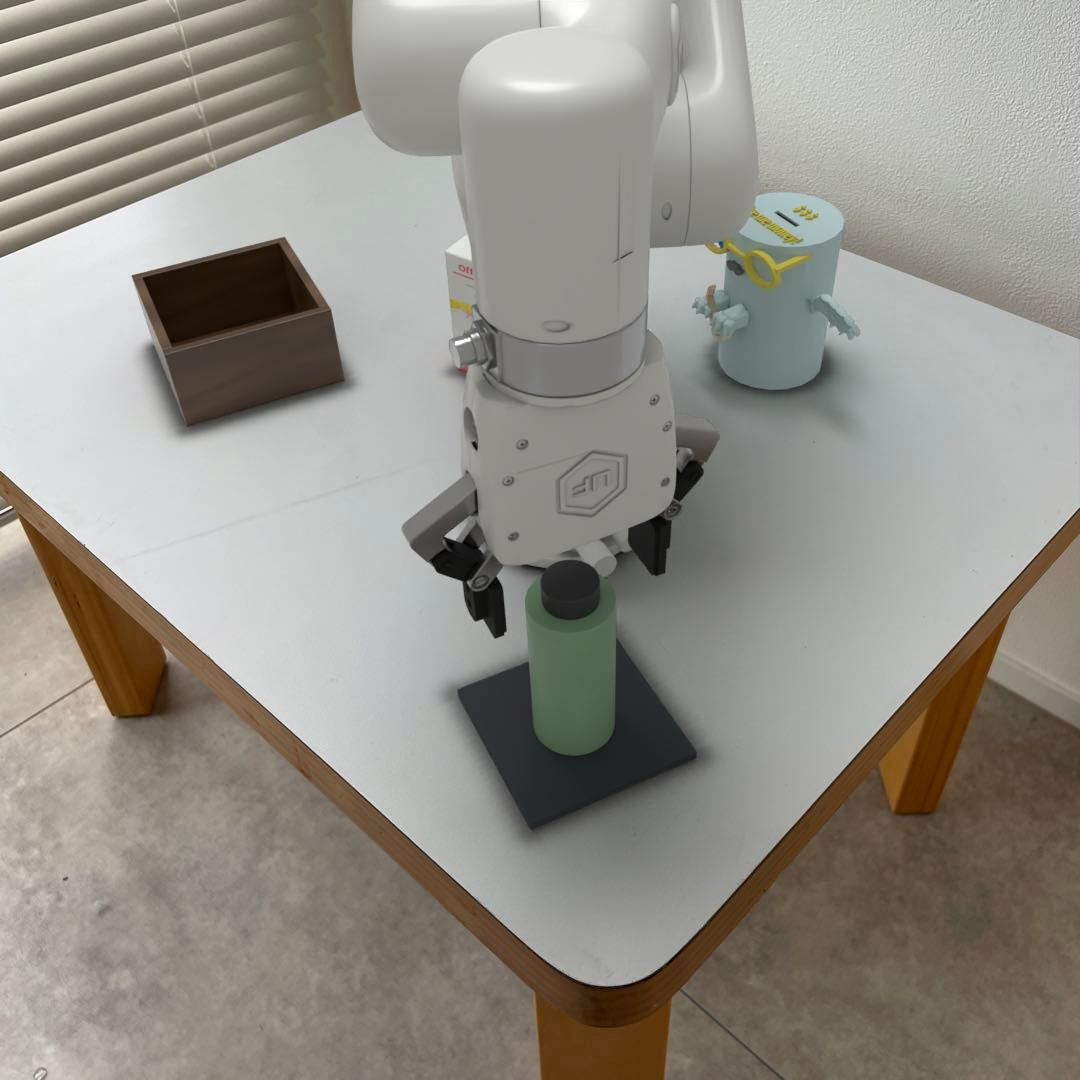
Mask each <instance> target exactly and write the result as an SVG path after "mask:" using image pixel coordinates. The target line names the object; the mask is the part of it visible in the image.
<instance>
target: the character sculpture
mask: <svg viewBox="0 0 1080 1080" xmlns="http://www.w3.org/2000/svg"><path fill="white" fill-rule="evenodd" d="M844 226H845V218H844V216H843V214H842V212H841V211H840V210H839V209H838V208H837V207H835V206H834V205H833V204H832V203H830V202H828V201H826V200H824V199H821V198H819V197H816V196H813V195H809V194H805V193H799V192H798V193H797V192H787V191H781V192H779V191H778V192H765V193H762V194H757V195H756V200H755V204H754V207H753V210H752V213H751V216H750V217H749V219H748V221H747V223H746V224H745V225H744V227H743V228H742V229H741V230H740V231H739V232H738V233H736V234H735V235H733V236H732V237H730V238H728V239H726V240H723V241H720V242H717V244H718V245H716V243H712V244H705V245H704V246H705V247H706V248H707V249H708V250H709V251H710V252H711V253H713V254H716V255H723V254H726V256H725V258H726V259H725V270H724V279H723V280H724V282H723V289H716V288H717V285H716V284H711V285H709V286H708V287H707V290H706V293H705V295H704V296H696V297H695V298H694V302H693V304H691V309H696V311H695V314H696V315H700V314H701V315H703V316H704V319H708V318H709V326H710V327H711V329H710V330H711V336H712V337H713V339H714V340H715V341H716V342H718V351H717V360H718V363H719V367H720V369H721V370H723V373H725V375H727V376H728V377H729V378H731V379H733V380H734V381H735V382H737V383H738V384H739V383H740V384H741V385H745V386H748V387H750V388H754V389H761V390H766V391H767V390H768V391H777V390H789V389H793V388H797V387H801V386H804V385H805V384H808V383H809V382H810V381H812V380H814V379H815V378H816V376H817V375H818V374H819V373H820V372H821V368H822V363H823V362H822V361H823V357H824V349H825V344H826V338H827V330H828V327H829V328H830V329H831V328H833V327H835V328H836V329H837V331H838V336H842V335H843V334H846V336H847V340H849V341H853V340H854V338H855V337H857V338H858V337H860V335H861V329H860V327H859V325H858V324H856V322H855V319H854V318H853V317H852V315H851V314H848V311H847V310H846V308H844V307H843V306H841V304H840V303H839V302H838V301H837V300H836V299H833V294H834V287H835V281H836V276H837V275H836V274H837V270H838V262H839V256H840V250H841V244H842V238H843V232H844ZM828 325H829V326H828Z"/></svg>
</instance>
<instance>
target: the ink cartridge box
mask: <svg viewBox="0 0 1080 1080" xmlns="http://www.w3.org/2000/svg"><path fill="white" fill-rule="evenodd" d="M444 255H445V265H446V267H445V268H446V276H447V287H448V297H449V307H450V318H451V330H452V337H453V338H455V337H459V336H462V335H463V334H464V331H468V330H470V328H471V324H472V322H473V318H472V308H471V305H474V304H476V301H475V290H474V279H473V268H472V257H471V247H470V242H469V238H468V234H467V233H466V234H465V235H463V236H462V237H461V238H460V239H459V240H457V241H455V243H453V244H452V245H450V246H449V247H448V248H447V249H445V251H444ZM455 368H456V369H457V370H460V371H463V372H466V373H467V371H468V366H466V367H463V368H459V369H458V368H457V367H456V366H455Z"/></svg>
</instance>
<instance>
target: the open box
mask: <svg viewBox="0 0 1080 1080" xmlns="http://www.w3.org/2000/svg"><path fill="white" fill-rule="evenodd" d="M131 279H132V282H133V285H134V288H135V291H136V294H137V297H138V301H139V303H140V307H141V310H142V313H143V316H144V319H145V322H146V325H147V328H148V332H149V335H150V338H151V342H152V344H153V346H154V349H155V351H156V354H157V356H158V359H159V362H160V364H161V366H162V369H163V372H164V374H165V377H166V379H167V381H168V384H169V386H170V388H171V392H172V394H173V397H174V398H175V401H176V403H177V406H178V408H179V411H180V413H181V415H182V418H183V421H184V423H185V426H186V427H187V428H188V427H191V426H192V427H193V426H195V425H198V424H199V425H200V424H202V423H206V422H208V421H209V422H210V421H212V420H216V419H219V418H222V417H225V416H230V415H232V414H236V413H239V412H243V411H247V410H250V409H252V408H256V407H259V406H263V405H266V404H270V403H273V402H277V401H280V400H283V399H287V398H291V397H293V396H297V395H300V394H303V393H304V394H305V393H307V392H310V391H315V390H317V389H320V388H321V389H322V388H324V387H328V386H332V385H334V384H338V383H342V382H345V380H346V379H345V374H344V369H343V364H342V359H341V353H340V349H339V348H340V347H339V343H338V338H337V337H338V336H337V332H336V327H335V322H334V317H333V312H332V308H331V307H330V305H329V304H328V302H327V300H326V299H325V297H324V295H323V294H322V293H321V291H320V289H319V288H318V286H317V285H316V283H315V281H314V280H313V278H312V277H311V276H310V274H309V272H308V271H307V268H305V266H304V265H303V263H302V262H301V260H300V257H298V255H297V254H296V252H295V250H294V249H293V248H292V246H291V244H290V242H289V241H288V239H287V238H286V237H285V236H282V237H278V238H274V239H269V240H266V241H262V242H258V243H254V244H250V245H246V246H242V247H238V248H235V249H230V250H227V251H223V252H218V253H215V254H211V255H207V256H203V257H198V258H194V259H190V260H186V261H183V262H178V263H174V264H171V265H167V266H163V267H158V268H155V269H151V270H147V271H143V272H139V273H134V274H132V275H131Z"/></svg>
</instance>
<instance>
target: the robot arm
mask: <svg viewBox="0 0 1080 1080" xmlns="http://www.w3.org/2000/svg"><path fill="white" fill-rule="evenodd" d="M743 13H744V12H743V2H742V0H352V10H351V51H352V62H353V63H352V65H353V77H354V82H355V83H354V84H355V89H356V96H357V99H358V102H359V106H360V108H361V111H362V114H363V116H364V120H365V121H366V123H367V125H368V126H369V128H370V129H371V131H372V133H373V134H374V135H375V137H377V139H378V140H379V141H381V142H382V143H383V144H384V145H385V146H387V147H388V148H390V149H391V150H393V151H395V152H398V153H400V154H403V155H407V156H413V157H421V158H423V157H426V158H427V157H451V167H452V168H451V169H452V175H453V180H454V186H455V191H456V195H457V199H458V204H459V207H460V211H461V214H462V218H463V222H464V226H465V230H466V234H468V238H469V242H470V247H471V257H472V268H473V279H474V290H475V301H476V304H474V305H471V308H472V318H473V322H472V324H471V328H470V330H468V331H464V334H463V335H462V336H459V337H455V338H449V340H448V350H449V353H450V356H451V360H452V362H453V364H454V366H455V368H456V367H457V368H458V369H457V368H456V369H457V370H460V369H459V368H463V367H466V366H468V371H467V372H466V377H465V382H464V391H463V398H462V405H461V418H460V419H461V420H460V421H461V422H460V469H461V470H460V471H461V472H460V473H461V474H460V475H461V477H460V478H459V479H458V480H456V481H455V482H454V483H452V484H451V485H450V486H449V487H448V488H446V489H445V490H443V491H442V492H441V493H440V494H439V495H437V496H436V497H435V498H434V499H432V500H431V501H430V502H428V503H427V504H426V505H425V506H424V507H422V508H421V509H420V510H418V511H417V512H416V513H415V514H413V515H412V516H411V517H409V518H408V519H407V520H406V521H405V522H404V523H403V524H402V526H401V528H400V529H401V533H402V535H403V536H404V538H405V540H406V542H407V544H408V545H409V547H410V549H411V550H412V551H413V552H414V553H416V554H417V555H418V556H419V557H420V558H422V559H423V560H424V561H425V562H426V563H427V564H429V565H430V566H432V567H433V569H434V570H435V572H436V573H437V574H439V575H442V576H445V577H448V578H451V579H454V580H457V581H460V582H462V591H463V598H464V603H465V607H466V609H467V612H468V613H469V615H470V617H471V618H472V620H473V621H474V622H480V621H482V620H483V621H484V623H485V624H486V627H487V628H488V630H489V632H490V633H491V635H492V637H493V639H494V640H496V639H498V638H501V637H504V636H505V633H507V631H508V627H507V618H506V617H507V616H506V605H505V604H506V603H505V594H504V587H503V585H502V582H501V581H500V579H499V578H498V575H499V574H500V572H501V570H503V567H504V566H509V567H510V566H511V567H515V566H518V567H519V566H525V565H528V566H532V567H537V568H544V569H547V568H548V567H549V566H550V565H552V564H554V563H556V562H559V561H562V560H579V561H583V562H585V563H587V564H589V565H591V566H592V567H593V568H594V569H595V570H596V571H597V573H598V574H600V575H601V576H603V577H604V578H606V577H608V576H610V575H611V574H613V572H614V571H615V570H616V568H617V565H618V560H617V558H616V556H615V555H618V554H619V553H621V552H622V553H629V552H631V551H633V553H634V554H635V556H636V557H637V558H638V560H639V561H640V562H641V563H642V565H643V567H645V569H646V570H647V571H648V572H649V574H650V575H651V576H655V577H659V576H661V575H665V574H666V571H667V558H668V557H667V556H668V550H669V549H670V547H671V541H672V540H671V539H672V524H673V520H675V519H677V518H678V517H679V516H680V515H681V514H682V512H683V510H684V505H683V504H682V503H681V501H683V499H684V498H685V497H686V496H687V495H688V494H689V493H690V491H692V490H693V488H694V487H695V486H696V485H697V483H699V481H700V480H701V479H702V477H703V476H704V473H705V470H704V467H703V466H704V465H705V463H708V461H709V460H710V458H711V456H712V454H713V452H714V451H715V449H716V447H717V445H718V443H719V441H720V440H721V437H722V436H721V434H722V433H721V432H720V430H718V429H717V428H716V427H715V425H714V424H712V422H711V421H710V420H709V419H708V418H706V417H698V416H691V415H683V414H675V409H674V401H673V393H672V392H673V391H672V387H671V381H670V375H669V369H668V365H667V359H666V354H665V351H664V348H663V344H662V342H661V340H660V338H658V337H657V336H656V335H655V334H654V333H653V332H652V331H651V330H649V329H648V320H649V319H648V318H649V317H648V315H649V282H650V280H649V279H650V254H651V249H661V248H682V247H692V246H693V247H695V246H696V247H697V246H705V244H712V243H714V244H716V243H717V244H718V242H720V241H723V240H726V239H728V238H730V237H732V236H733V235H735V234H736V233H738V232H739V231H740V230H741V229H742V228H743V227H744V225H745V224H746V223H747V221H748V219H749V217H750V216H751V213H752V210H753V207H754V204H755V200H756V196H757V195H758V184H759V169H760V168H759V147H758V136H757V125H756V116H755V115H756V114H755V107H754V100H753V99H754V97H753V91H752V84H751V83H752V82H751V75H750V74H751V73H750V64H749V57H748V48H747V39H746V30H745V22H744V16H743V15H744V14H743ZM677 448H678V449H677ZM470 516H471V517H470ZM469 517H470V519H469V520H468V522H466V525H465V526H464V527H463V529H462V530H461V532H460V533H459V535H458V536H457V538H456V539H455V540H454V539H452V538H450V537H446V535H448V534H449V533H450V532H451V531H452V530H454V529H455V528H456V527H458V525H460V524H461V523H463V522H464V521H465V520H466V519H467V518H469ZM484 542H486V545H487V547H486V548H485V550H484V551H482V550H481V549H480V548H481V546H482V545H483V544H484Z"/></svg>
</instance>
